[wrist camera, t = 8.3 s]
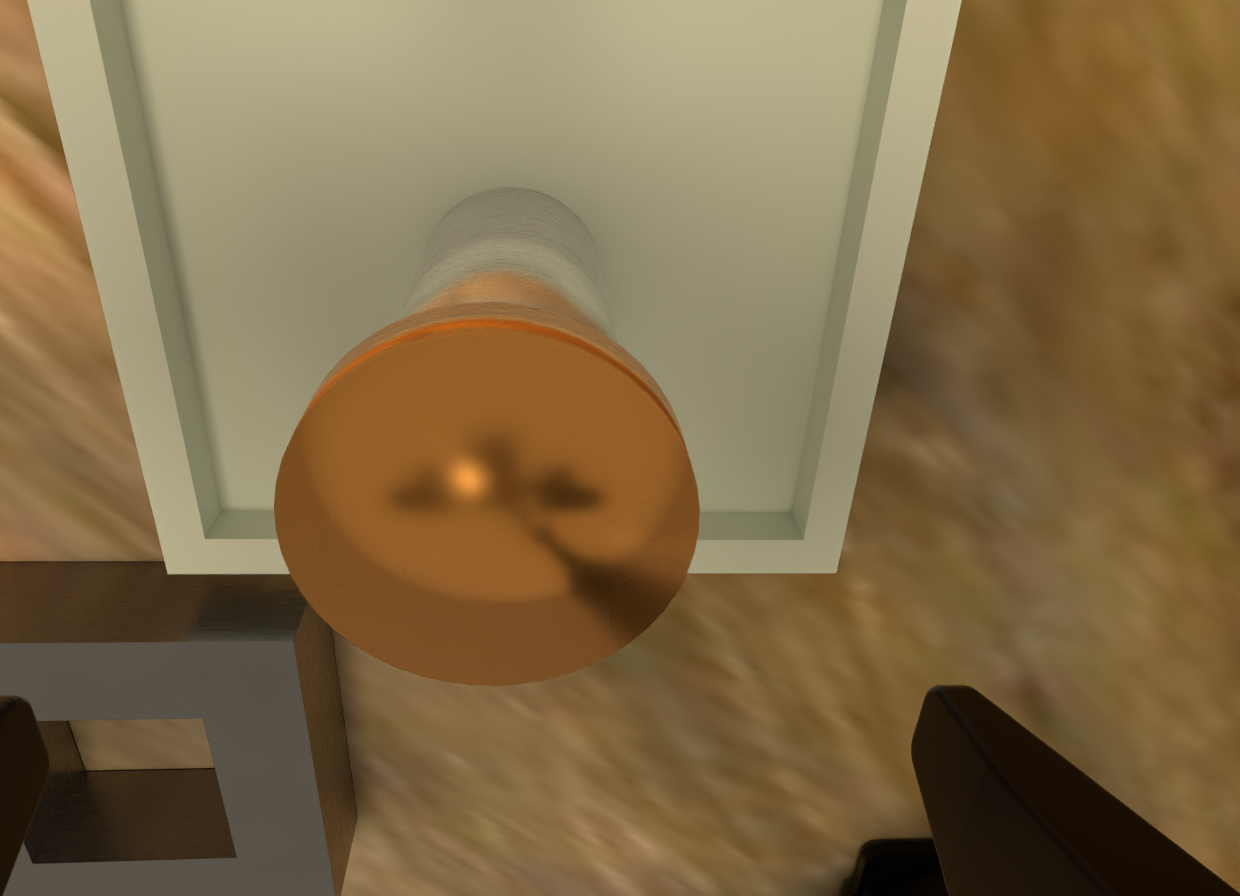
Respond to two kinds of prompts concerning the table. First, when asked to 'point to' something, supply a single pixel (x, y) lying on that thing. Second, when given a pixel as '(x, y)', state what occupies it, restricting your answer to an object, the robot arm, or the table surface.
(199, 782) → the block
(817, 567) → the tray
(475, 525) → the light grey cylindrical piece
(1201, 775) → the table surface
